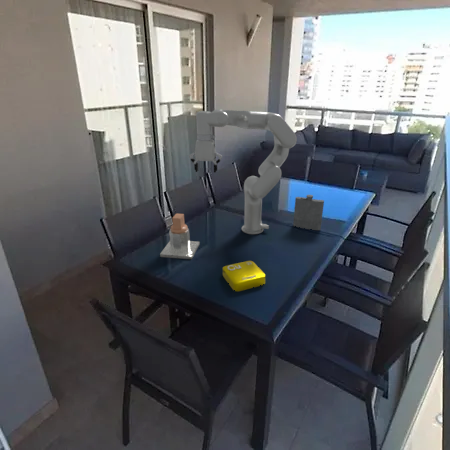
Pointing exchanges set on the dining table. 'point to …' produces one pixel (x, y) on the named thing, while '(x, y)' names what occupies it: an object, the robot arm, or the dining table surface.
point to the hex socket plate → (180, 246)
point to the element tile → (243, 275)
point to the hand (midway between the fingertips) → (206, 171)
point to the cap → (178, 224)
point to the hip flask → (308, 213)
